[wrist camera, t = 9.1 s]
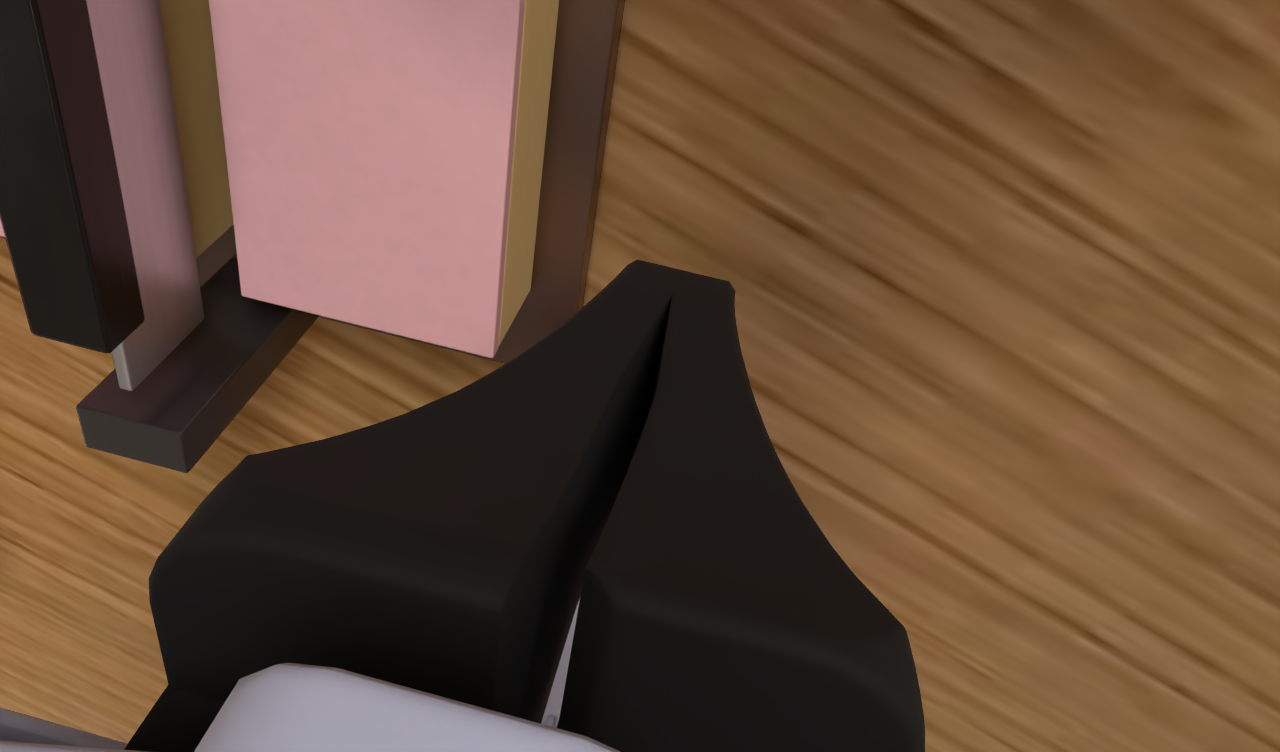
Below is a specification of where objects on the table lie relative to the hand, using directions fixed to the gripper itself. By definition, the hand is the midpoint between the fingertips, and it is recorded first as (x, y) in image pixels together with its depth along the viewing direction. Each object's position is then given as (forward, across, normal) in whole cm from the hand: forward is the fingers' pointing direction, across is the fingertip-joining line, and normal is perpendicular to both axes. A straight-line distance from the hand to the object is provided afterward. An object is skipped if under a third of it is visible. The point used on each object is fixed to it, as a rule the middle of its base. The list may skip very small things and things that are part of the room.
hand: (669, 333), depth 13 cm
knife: (+6, +11, 0) cm, 13 cm away
